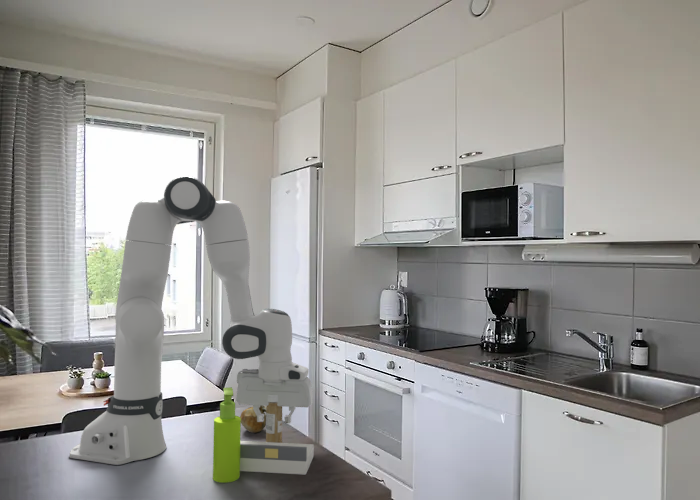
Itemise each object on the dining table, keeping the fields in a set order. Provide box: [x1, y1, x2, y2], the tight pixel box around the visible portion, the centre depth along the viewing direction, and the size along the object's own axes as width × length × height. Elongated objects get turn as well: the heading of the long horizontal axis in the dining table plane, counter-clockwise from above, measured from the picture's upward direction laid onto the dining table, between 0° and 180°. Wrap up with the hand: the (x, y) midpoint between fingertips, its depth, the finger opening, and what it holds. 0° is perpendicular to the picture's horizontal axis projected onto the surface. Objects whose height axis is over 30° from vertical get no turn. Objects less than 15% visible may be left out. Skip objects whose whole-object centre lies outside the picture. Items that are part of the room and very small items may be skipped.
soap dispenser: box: [212, 387, 242, 484], centre depth 118 cm, size 6×7×20 cm
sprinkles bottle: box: [265, 395, 283, 443], centre depth 140 cm, size 5×5×14 cm
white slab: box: [240, 440, 315, 475], centre depth 127 cm, size 20×11×6 cm, turn 84°
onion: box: [239, 406, 266, 434], centre depth 150 cm, size 8×8×8 cm
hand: (274, 422), depth 140 cm, fingers open, 6 cm apart
